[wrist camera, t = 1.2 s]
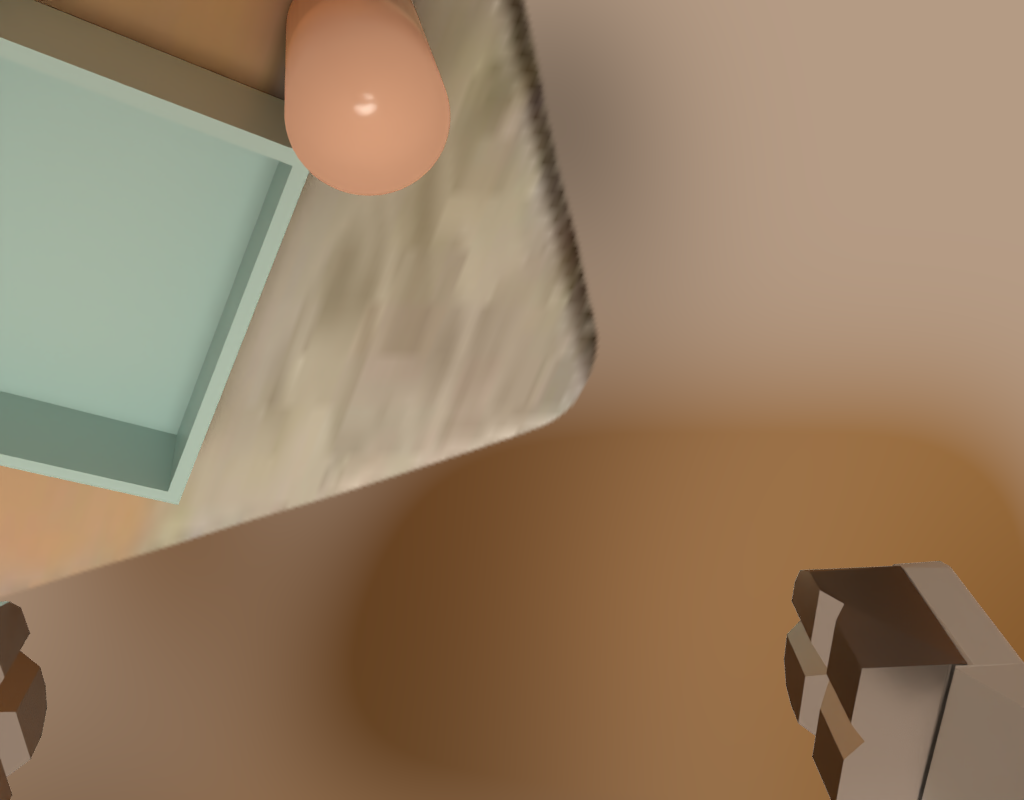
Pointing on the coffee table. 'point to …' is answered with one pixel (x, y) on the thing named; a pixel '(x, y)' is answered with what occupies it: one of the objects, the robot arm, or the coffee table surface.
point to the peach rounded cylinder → (363, 94)
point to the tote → (126, 248)
